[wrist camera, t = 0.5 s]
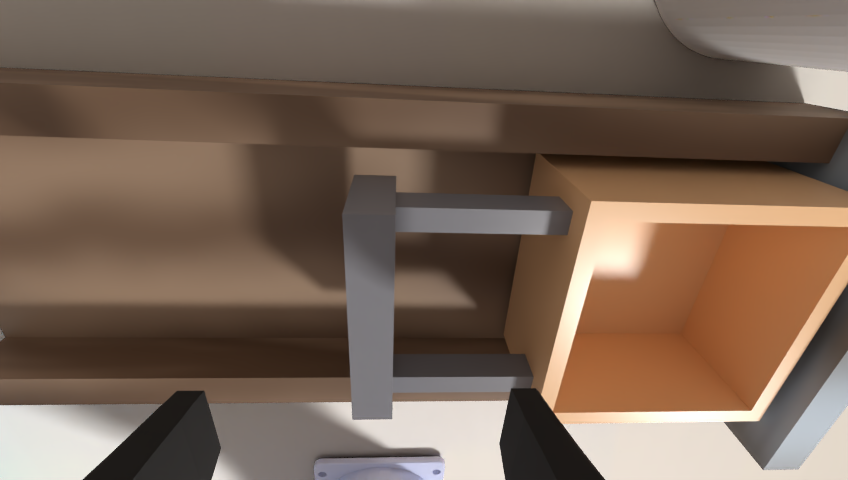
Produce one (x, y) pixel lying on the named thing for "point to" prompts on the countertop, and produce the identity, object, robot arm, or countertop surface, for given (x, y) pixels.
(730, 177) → the drawer
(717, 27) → the cup
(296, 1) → the countertop surface
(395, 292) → the bay
